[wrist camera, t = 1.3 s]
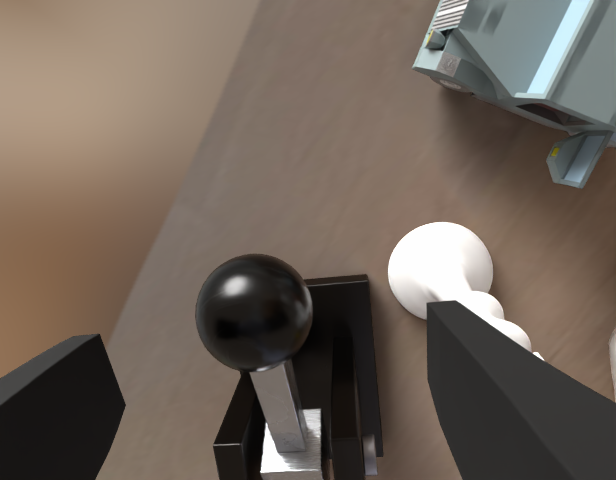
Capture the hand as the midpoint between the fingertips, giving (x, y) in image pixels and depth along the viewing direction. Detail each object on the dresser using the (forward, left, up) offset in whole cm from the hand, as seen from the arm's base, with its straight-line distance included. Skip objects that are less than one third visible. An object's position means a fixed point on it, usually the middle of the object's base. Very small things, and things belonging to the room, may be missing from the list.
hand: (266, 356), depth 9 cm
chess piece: (-3, -6, -12) cm, 14 cm away
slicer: (-7, +1, -12) cm, 14 cm away
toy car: (+5, -10, -12) cm, 17 cm away
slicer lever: (-3, +1, -5) cm, 6 cm away
